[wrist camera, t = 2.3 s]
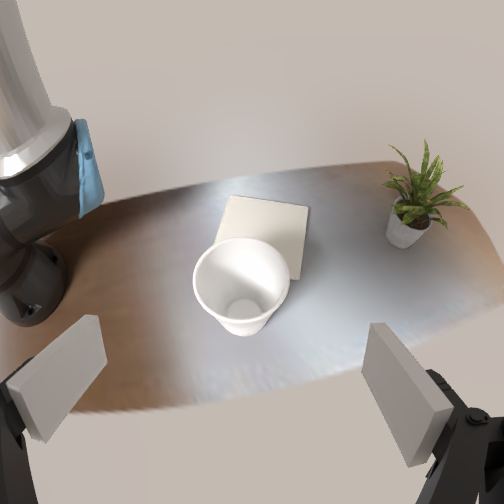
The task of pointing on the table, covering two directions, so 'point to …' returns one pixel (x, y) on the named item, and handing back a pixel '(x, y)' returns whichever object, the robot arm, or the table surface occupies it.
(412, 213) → the house plant
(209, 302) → the cup
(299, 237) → the placemat
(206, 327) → the table surface
